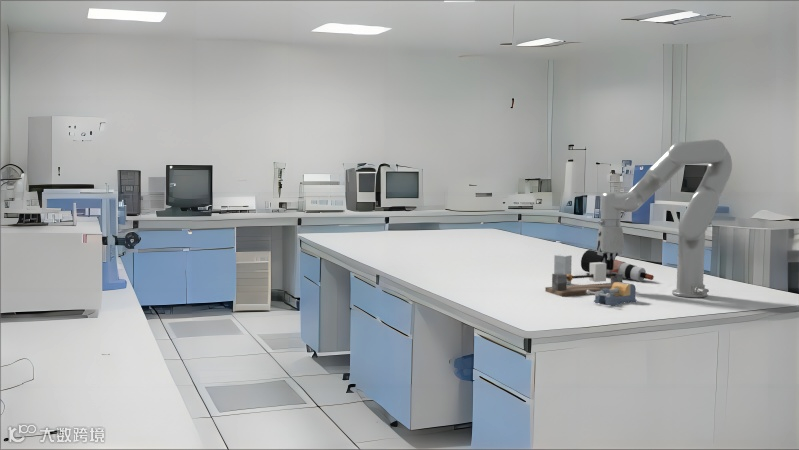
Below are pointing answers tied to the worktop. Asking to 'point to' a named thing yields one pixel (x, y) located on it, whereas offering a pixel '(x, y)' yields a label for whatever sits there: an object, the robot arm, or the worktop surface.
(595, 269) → the sleeve
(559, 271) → the skincare box
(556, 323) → the worktop surface
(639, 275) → the cable
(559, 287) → the cord rack
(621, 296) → the vise
